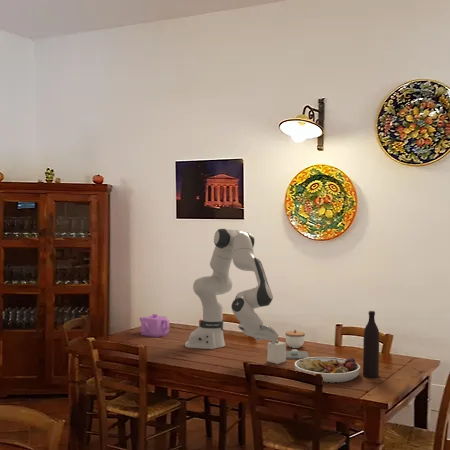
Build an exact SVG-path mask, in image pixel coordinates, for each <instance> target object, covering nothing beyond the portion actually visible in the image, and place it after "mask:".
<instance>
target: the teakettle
mask: <svg viewBox="0 0 450 450" xmlns="http://www.w3.org/2000/svg"><path fill="white" fill-rule="evenodd" d="M139 321H140V334H141V336H145V337H151V338H152V337H153V338H160V337H164V336H167V335H169V331H170V320H169V319H168V317H167V316H161V315H158V313H152V315H148V316H145V317H144V316H143V317H142V316H141V317H139Z"/></svg>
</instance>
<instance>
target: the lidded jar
mask: <svg viewBox="0 0 450 450" xmlns="http://www.w3.org/2000/svg"><path fill="white" fill-rule="evenodd" d="M305 335H306V334H305V332H303V331H299V330H296V329H294V330H290V331H286V332H285V343H286V345H288V346H289V348H291V347H292V349H298V348H301V347H302V346H303V344H304V343H305V339H306V338H305Z"/></svg>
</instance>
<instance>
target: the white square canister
mask: <svg viewBox="0 0 450 450" xmlns="http://www.w3.org/2000/svg"><path fill="white" fill-rule="evenodd" d="M286 351H287V342H283V341H279V340H278V339H277V340H276V343H275V344H272V343H271V341H270V342H267V354H266V355H267V358H266V359H267V360H266V361H267V362H269V363H272V364H273V363H274V364H276V365H279V364H282V363H285V362H287V359H286Z"/></svg>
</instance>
